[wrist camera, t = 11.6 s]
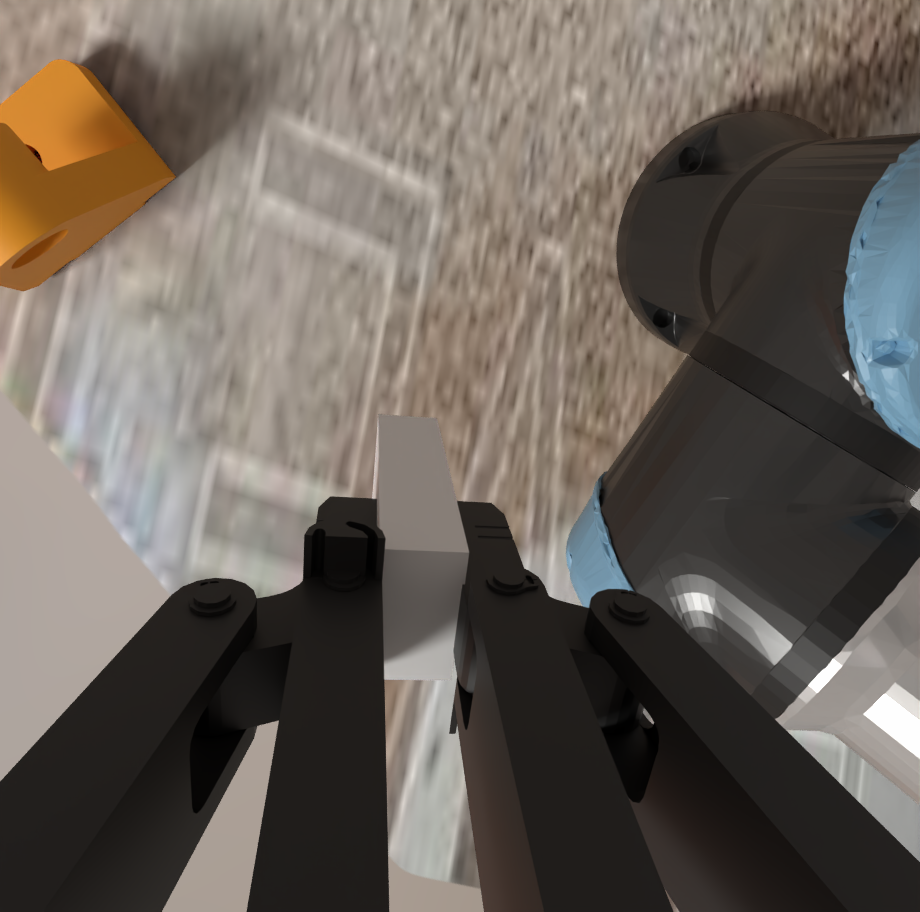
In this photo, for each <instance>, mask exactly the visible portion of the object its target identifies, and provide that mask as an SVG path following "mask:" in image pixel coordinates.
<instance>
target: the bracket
mask: <svg viewBox="0 0 920 912" xmlns="http://www.w3.org/2000/svg"><path fill="white" fill-rule="evenodd" d="M35 150H37V151H38V153H39V154H40V156H41V159H42V163H41V162H40V161H39V160H38V159H37V157H36V156H35V155H34V152H35ZM175 177H176V176H175V175H174V174H173V173H172V171H171V170H170V169H169V168H168V166H167V165H166V164H165V163H164V161H163V160H162V159H161V158H160V157H159V155H158V154H157V153H156V152H155V150H154V149H153V148H152V147H151V145H150V144H149V143H148V142H147V140H146V139H145V138H144V137H143V135H142V134H141V133H140V132H139V130H138V129H137V128H136V127H135V125H134V124H133V123H132V122H131V120H130V119H129V118H128V117H127V115H126V114H125V113H124V112H123V110H122V109H121V108H120V107H119V105H118V104H117V103H116V102H115V100H114V99H113V98H112V97H111V95H110V94H109V93H108V92H107V90H106V89H105V88H104V87H103V85H102V84H101V83H100V82H99V80H98V79H97V78H96V77H95V76H94V74H93V73H92V72H91V71H90V70H89V69H87V68H86V67H84V66H81V65H78V64H75V63H72V62H69V61H66V60H54V61H52V62H50V63H49V64H48V65H46V66H45V67H44V68H43V69H42V70H41V71H39V72H38V73H37V74H36V75H35V76H34V77H32V78H31V79H30V80H29V81H28V82H26V83H25V84H24V85H23V86H22V87H21V88H19V89H18V90H17V91H16V92H15V93H14V94H12V95H11V96H10V97H9V98H8V99H6V100H5V101H4V102H3V103H2V104H1V105H0V286H4V287H8V288H12V289H16V290H20V291H26V290H29V289H31V288H34V287H37V286H39V285H40V284H42V283H43V282H44V281H45V280H47V279H48V278H49V277H50V276H52V275H53V274H54V273H55V272H57V271H58V270H59V269H60V268H62V267H63V266H64V265H66V264H67V263H68V262H69V261H71V260H74V259H76V258H78V257H79V256H80V255H81V254H83V253H84V252H85V251H86V250H88V249H89V248H90V247H91V246H93V245H94V244H95V243H97V242H98V241H99V240H100V239H102V238H103V237H104V236H105V235H107V234H108V233H109V232H110V231H112V230H113V229H114V228H115V227H117V226H118V225H119V224H121V223H122V222H123V221H124V220H126V219H127V218H128V217H129V216H131V215H132V214H133V213H134V212H136V211H137V210H138V209H139V208H141V207H142V206H143V205H145V204H146V203H145V201H146V200H148V199H149V198H150V197H151V196H153V195H154V194H155V193H157V192H158V191H159V190H160V189H162V188H163V187H164V186H165V185H167V184H168V183H169V182H170V181H172V180H173V179H174V178H175Z"/></svg>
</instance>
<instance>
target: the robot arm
mask: <svg viewBox="0 0 920 912" xmlns="http://www.w3.org/2000/svg"><path fill="white" fill-rule="evenodd" d="M617 269H618V275H619V280H620V284H621V288H622V291H623V293H624V296H625V298H626V301H627V303H628V305H629V307H630V308H631V310H632V312H633V313H634V315H635V316H636V317H637V319H638V320H639V321H640V322H641V324H642V325H643V326H644V327H645V328H646V329H647V330H648V331H650V332H651V333H652V334H653V335H655V336H656V337H657V338H659V339H661V340H662V341H664V342H665V343H667V344H669V345H670V346H672V347H674V348H676V349H678V350H680V351H682V352H684V353H687V354H689V355H690V356H691V357H690V356H688V355H687V357H686V358H685V360H684V361H683V363H682V364H681V365H680V367H679V368H678V370H677V371H676V373H675V374H674V376H673V377H672V379H671V380H670V382H669V383H668V385H667V386H666V387H665V389H664V390H663V392H662V393H661V395H660V396H659V398H658V399H657V401H656V402H655V404H654V405H653V407H652V408H651V409H650V411H649V412H648V414H647V415H646V417H645V418H644V420H643V421H642V423H641V424H640V426H639V427H638V429H637V430H636V432H635V433H634V434H633V436H632V437H631V439H630V440H629V442H628V443H627V445H626V446H625V448H624V449H623V450H622V452H621V453H620V455H619V456H618V457H617V459H616V460H615V462H614V463H613V464H612V466H611V467H610V469H609V470H608V471H606V472H604V473H603V474H602V475H601V476H600V478H599V479H598V481H597V482H596V484H595V487H594V490H593V495H592V496H591V498H590V500H589V501H588V503H587V505H586V506H585V508H584V510H583V512H582V513H581V515H580V517H579V518H578V520H577V521H576V523H575V524H574V526H573V528H572V530H571V532H570V534H569V537H568V541H567V546H566V557H567V566H568V568H569V571H570V579H571V581H572V584H573V587H574V589H575V592H576V594H577V596H578V598H579V600H580V602H581V603H582V605H583V606H579V605H574V604H570V603H566V602H563V601H559V600H556V599H554V598H552V597H549V596H548V593H547V591H546V588H545V586H544V584H543V583H542V581H541V580H540V579H539V577H537V576H536V575H534V574H533V573H532V572H530V571H529V570H526V569H524V567H523V564H522V561H521V559H520V556H519V553H518V550H517V548H516V545H515V542H514V540H513V537H512V534H511V531H510V529H509V526H508V523H507V520H506V518H505V515H504V514H503V513H502V512H501V511H500V510H499V509H498V508H496V507H495V506H494V505H493V504H492V503H483V502H463V501H457V500H456V496H455V491H454V487H453V483H452V479H451V475H450V471H449V467H448V462H447V458H446V454H445V450H444V446H443V442H442V437H441V433H440V429H439V425H438V421H437V418H427V417H412V416H398V415H383V414H378V426H377V440H376V454H375V468H374V482H373V496H372V499H370V498H350V497H331V496H330V497H329V498H328V499H327V500H326V501H325V502H324V503H323V504H322V505H321V506H320V507H319V509H318V515H317V522H316V524H314V525H312V526H311V527H309V528H308V530H307V532H306V533H305V535H304V568H303V581H302V582H301V583H300V584H299V585H297V586H296V587H294V588H293V589H291V590H289V591H286V592H284V593H281V594H277V595H273V596H269V597H263V598H256V595H255V592H254V590H253V589H251V588H250V587H249V586H248V585H246V584H245V583H242V582H239V581H236V580H233V579H222V578H212V579H205V580H199V581H196V582H193V583H191V584H188V585H186V586H183V587H182V588H180V589H179V590H178V591H176V592H175V593H174V594H172V595H171V596H170V597H169V598H168V600H167V601H166V602H165V603H164V604H163V605H162V606H161V607H160V608H159V609H158V611H157V612H156V613H155V614H154V615H153V616H152V617H151V618H150V619H149V620H148V622H146V624H145V625H144V626H143V627H142V628H141V629H140V630H139V631H138V632H137V633H136V634H135V635H134V637H133V638H132V639H131V640H130V641H129V642H128V643H127V644H126V645H125V646H124V647H123V649H122V650H121V651H120V652H119V653H118V654H117V655H116V656H115V657H114V658H113V660H112V661H111V662H110V663H109V664H108V665H107V666H106V667H105V668H104V669H103V670H102V671H101V673H100V674H99V675H98V676H97V677H96V678H95V679H94V680H93V681H92V682H91V683H90V685H89V686H88V687H87V688H86V689H85V690H84V691H83V692H82V693H81V694H80V696H78V698H77V699H76V700H75V701H74V702H73V703H72V704H71V705H70V706H69V707H68V709H66V711H65V712H64V713H63V714H62V715H61V716H60V717H59V718H58V719H57V720H56V721H55V723H54V724H53V725H52V726H51V727H50V728H49V729H48V730H47V731H46V733H44V735H43V736H42V737H41V738H40V739H39V740H38V741H37V742H36V743H35V744H34V745H33V747H32V748H31V749H30V750H29V751H28V752H27V753H26V754H25V755H24V756H23V757H22V759H21V760H20V761H19V762H18V763H17V764H16V765H15V766H14V767H13V768H12V769H11V771H10V772H9V773H8V774H7V775H6V776H5V777H4V778H3V779H2V780H1V781H0V912H162V910H163V908H164V906H165V904H166V902H167V901H168V899H169V897H170V895H171V893H172V891H173V889H174V887H175V886H176V884H177V882H178V880H179V878H180V876H181V874H182V872H183V870H184V869H185V867H186V865H187V863H188V861H189V859H190V857H191V855H192V854H193V852H194V850H195V848H196V846H197V844H198V842H199V841H200V838H201V837H202V835H203V833H204V831H205V829H206V827H207V826H208V824H209V822H210V820H211V818H212V816H213V814H214V812H215V811H216V809H217V807H218V805H219V803H220V801H221V799H222V797H223V795H224V793H225V792H226V790H227V788H228V786H229V784H230V782H231V780H232V779H233V777H234V775H235V773H236V771H237V769H238V767H239V765H240V763H241V762H242V760H243V758H244V756H245V754H246V752H247V750H248V748H249V747H250V745H251V743H252V741H253V739H254V736H255V733H256V729H257V726H258V725H262V724H266V723H270V722H274V721H278V720H279V724H278V730H277V736H276V741H275V747H274V754H273V759H272V765H271V771H270V777H269V783H268V789H267V795H266V800H265V806H264V812H263V818H262V824H261V830H260V836H259V842H258V848H257V854H256V860H255V866H254V871H253V877H252V883H251V889H250V895H249V901H248V907H247V912H389V884H388V883H389V880H388V832H387V784H386V737H385V689H384V680H452V673H453V666H454V659H455V665H456V671H457V682H456V689H455V696H454V703H453V710H452V717H451V724H450V732H449V734H455V733H456V728H457V725H458V732H459V739H460V746H461V753H462V760H463V767H464V774H465V781H466V788H467V795H468V802H469V809H470V816H471V823H472V830H473V837H474V844H475V851H476V858H477V865H478V872H479V879H480V886H481V893H482V901H483V908H484V912H673V909H672V907H671V904H670V902H669V899H668V897H667V894H666V892H665V890H666V891H667V893H668V894H669V896H670V897H671V899H672V901H673V902H674V904H675V905H676V907H677V908H678V910H679V912H920V862H919V861H918V860H917V859H916V858H915V857H914V856H913V855H912V854H911V853H910V852H909V851H908V850H907V849H906V848H905V847H904V846H903V845H902V844H901V843H900V842H899V841H898V840H897V839H896V838H895V837H894V836H893V835H892V834H891V833H890V832H889V831H888V830H887V829H885V828H884V827H883V826H882V825H881V824H880V823H879V822H878V821H877V820H876V819H875V818H874V817H873V816H872V815H871V814H870V813H869V812H868V811H867V810H866V809H865V808H864V807H863V806H862V805H861V804H860V803H859V802H858V801H857V800H856V799H855V798H854V797H853V796H852V795H851V794H850V793H849V792H848V791H847V790H846V789H845V788H844V787H843V786H842V785H841V784H840V783H839V782H838V781H837V780H836V779H835V778H834V777H833V776H832V775H831V774H830V773H829V772H828V771H827V770H826V769H825V768H824V767H823V766H822V765H821V764H820V763H819V762H818V761H817V760H816V759H815V758H814V757H813V756H812V755H811V754H810V753H809V752H808V751H806V750H805V749H804V748H803V747H802V746H801V745H800V744H799V743H798V742H797V741H796V740H795V739H794V738H793V737H792V736H791V735H790V734H789V733H788V732H787V731H786V730H807V731H822V732H825V733H829V734H832V735H835V736H836V737H837V738H838V739H839V740H841V741H842V742H843V743H844V744H846V745H847V746H848V747H849V748H850V749H852V750H853V751H854V752H855V753H856V754H858V755H859V756H860V757H861V758H862V759H864V760H865V761H866V762H867V763H868V764H870V765H871V766H872V767H873V768H875V769H876V770H877V771H878V772H879V773H881V774H882V775H883V776H884V777H885V778H887V779H888V780H889V781H890V782H891V783H893V784H894V785H895V786H896V787H897V788H899V789H900V790H901V791H902V792H904V793H905V794H906V795H907V796H908V797H910V798H911V799H912V800H913V801H914V802H916V803H917V804H918V805H919V806H920V511H919V510H918V509H916V508H914V507H913V506H912V505H911V503H910V499H911V498H912V497H913V496H914V494H915V493H916V492H917V491H918V489H919V488H920V133H915V134H900V135H886V136H871V137H856V138H841V139H834V138H833V137H831V136H830V135H828V134H827V133H825V132H824V131H822V130H821V129H819V128H818V127H816V126H815V125H813V124H811V123H809V122H807V121H805V120H803V119H801V118H798V117H796V116H792V115H789V114H784V113H779V112H773V111H749V112H742V113H734V114H728V115H723V116H719V117H715V118H712V119H709V120H707V121H704V122H702V123H700V124H698V125H696V126H694V127H692V128H690V129H688V130H687V131H685V132H683V133H682V134H680V135H679V136H678V137H676V138H675V139H674V140H672V141H671V142H670V143H669V144H667V145H666V146H665V147H664V148H663V149H662V150H661V151H660V152H659V153H658V154H657V155H656V156H655V157H654V158H653V160H652V161H651V162H650V163H649V165H648V166H647V167H646V168H645V170H644V171H643V173H642V174H641V176H640V177H639V179H638V180H637V182H636V184H635V186H634V188H633V189H632V191H631V194H630V196H629V198H628V200H627V203H626V205H625V208H624V211H623V214H622V218H621V222H620V226H619V231H618V238H617ZM693 358H694V359H693ZM700 362H701V363H700ZM705 365H706V366H705ZM707 366H708V367H707ZM709 367H710V368H711V369H710V368H709ZM712 369H713V370H712ZM714 370H715V371H714ZM717 372H718V373H717ZM719 373H720V374H719ZM722 375H723V376H722ZM724 376H725V377H724ZM727 378H728V379H727ZM729 379H730V380H729ZM732 381H733V382H732ZM737 384H738V385H737ZM742 387H743V388H742ZM747 390H748V391H747ZM905 485H906V486H907V487H906V486H905ZM908 487H909V488H908ZM910 488H911V489H912V490H911V489H910ZM913 490H914V491H916V492H914V491H913ZM644 708H645V709H646V710H647V712H648V713H649V714H650V716H651V718H652V719H653V721H654V725H653V724H652V723H651V722H650V721H649V720H648V719H647V718H646V717H645V715H644V714H643V709H644ZM663 886H664V887H663ZM664 888H665V889H664Z"/></svg>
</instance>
